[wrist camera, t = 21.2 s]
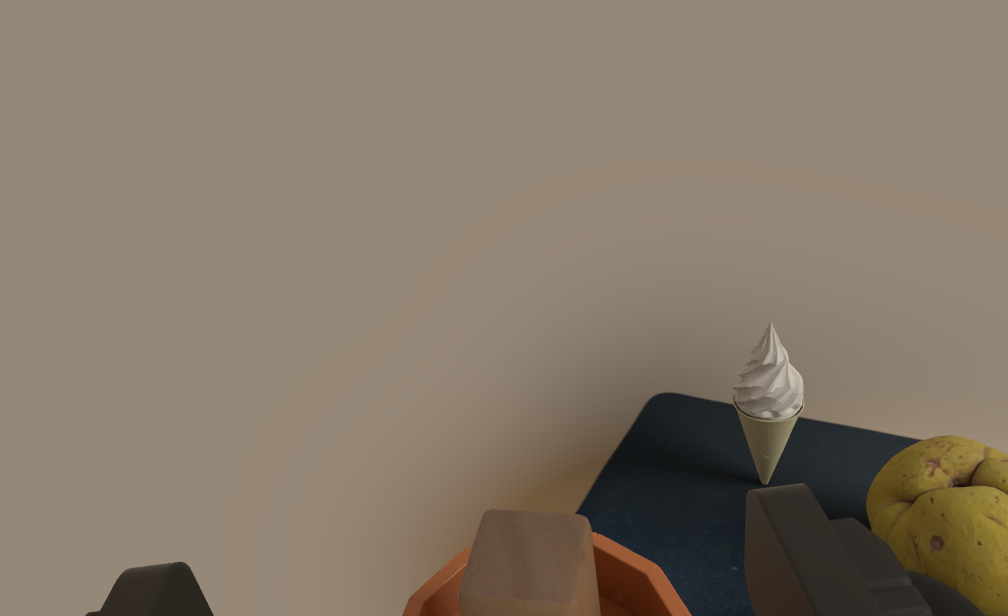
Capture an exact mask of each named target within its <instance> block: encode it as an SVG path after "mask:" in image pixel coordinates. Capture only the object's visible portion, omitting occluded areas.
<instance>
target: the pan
mask: <svg viewBox="0 0 1008 616" xmlns="http://www.w3.org/2000/svg"><path fill="white" fill-rule="evenodd" d="M591 533H592V542H593V550H594V559H595V568H596V577H597V586H598V594H599V603H600V612H601V616H692V615H691V614H690V612H689V611H688V609H687V608H686V606H685V605H684V603H683V602H682V600H681V599H680V597H679V596H678V594H677V593H676V591H675V590H674V588H673V587H672V585H671V583H670V582H669V580H668V579H667V577H666V576H665V574H664V573H663V571H662V570H661V568H660V567H658V566H657V565H656V564H655V563H653V562H651V561H649V560H647V559H645V558H643V557H642V556H640V555H638V554H636V553H634V552H632V551H630V550H629V549H627V548H625V547H623V546H621V545H619V544H617V543H616V542H614V541H612V540H610V539H608V538H606V537H604V536H603V535H601V534H597V533H596V532H591ZM471 549H472V547H470V548H467V549H464V551H461V552H460V553H459V554H458V555H456V556H455V557H454V558H453V559H452V560H451V561H450V562H449V563H448V564H447V565H445V566H444V567H443V568H442V569H441V570H440V571H439V572H437V573H436V574H435V575H434V576H433V577H432V578H431V579H430V580H428V582H426V583H425V584H424V585H423V586H422V587H421V588H420V589H418V590H417V591H416V592H415V593H414V594H413V595H412V596H411V598H409V600H408V603H407V605H406V608H405V610H404V613H403V615H402V616H462V613H461V609H460V605H459V601H458V595H457V592H458V589H459V586H460V583H461V580H462V577H463V574H464V571H465V568H466V565H467V561H468V558H469V555H470V552H471Z"/></svg>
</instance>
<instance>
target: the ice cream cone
mask: <svg viewBox="0 0 1008 616" xmlns="http://www.w3.org/2000/svg"><path fill="white" fill-rule="evenodd" d="M751 353H753V354H754V356H753V357H752V358H751V360H750V361H749V362H747V363H745V364H746V365H747V366H748V368H747V370H744V371H738V372H737V375H739V376H741V377H742V381H741V383H739V384H735V385H734V387H733V388H734V389H735V390H737V391H736V392H735V393H734V395H733V404H734V406H735V408H736V409H737V411H738V414H739V417H740V420H741V423H742V426H743V430H744V433H745V435H746V438H747V441H748V444H749V447H750V450H751V453H752V456H753V459H754V462H755V465H756V468H757V471H758V474H759V477H760V480H761V483H762V484H764V485H766V484H768V482H769V480H770V478H771V475H772V473H773V471H774V469H775V467H776V464H777V462H778V460H779V458H780V456H781V453H782V451H783V449H784V447H785V445H786V442H787V440H788V438H789V435H790V433H791V431H792V429H793V427H794V424H795V422H796V420H797V418H798V416H799V414H800V413H801V412H802V411H803V408H804V400H803V390H804V389H803V381H802V377H801V375H799V373H798V372H797V371H796V370H795V369H794V367H793V366H792V365H791V364H789V362H788V360H789V358H788V353H787V351H786V350H785V349H784V348H783V346H782V345H781V343H780V341H779V339H778V336H777V334H776V332H775V330H774V328H773V325H772V322H770V324H769V326H768V328H767V330H766V331H765V333H764V335H763V336H762V338H761V340H760V342H759V343H758V345H757V346H756V347H755V348H753V349H752V350H751Z"/></svg>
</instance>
